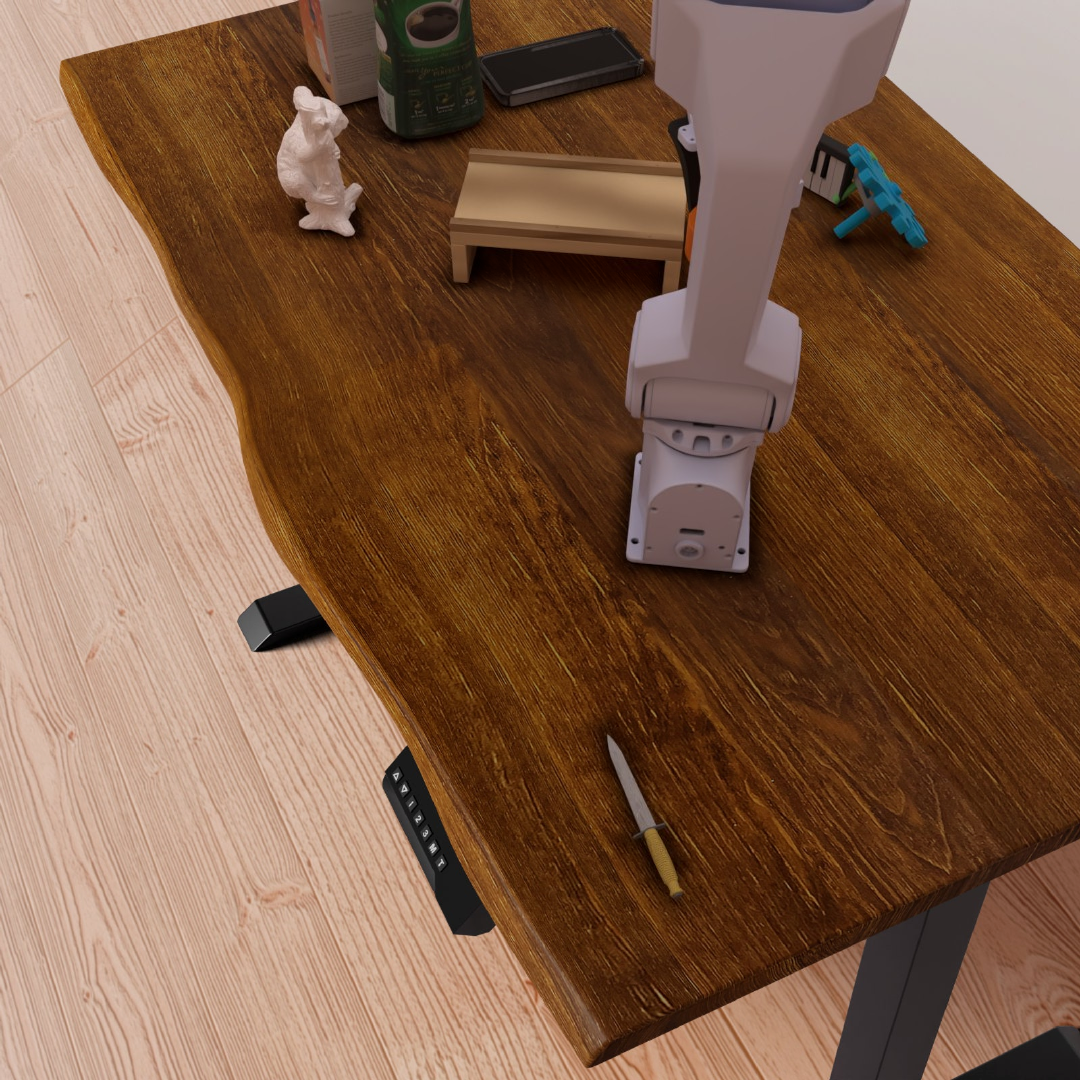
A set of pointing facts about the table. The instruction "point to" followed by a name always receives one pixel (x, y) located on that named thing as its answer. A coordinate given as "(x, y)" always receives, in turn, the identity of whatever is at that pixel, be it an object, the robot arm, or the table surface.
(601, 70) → the phone
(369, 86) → the small box
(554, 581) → the table surface
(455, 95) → the coffee jar
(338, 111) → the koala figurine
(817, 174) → the midi keyboard
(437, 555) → the table surface
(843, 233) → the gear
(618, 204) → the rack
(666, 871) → the dagger
